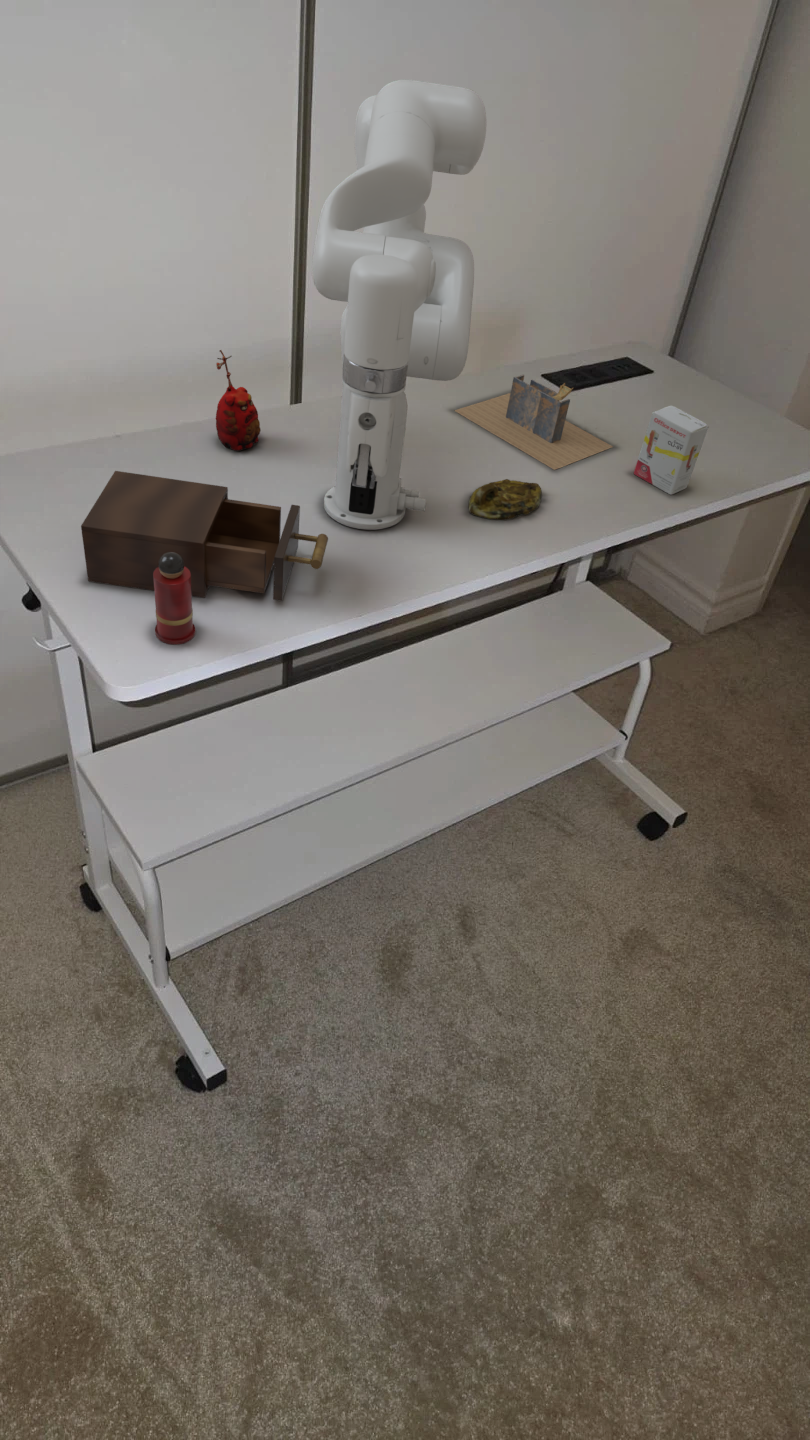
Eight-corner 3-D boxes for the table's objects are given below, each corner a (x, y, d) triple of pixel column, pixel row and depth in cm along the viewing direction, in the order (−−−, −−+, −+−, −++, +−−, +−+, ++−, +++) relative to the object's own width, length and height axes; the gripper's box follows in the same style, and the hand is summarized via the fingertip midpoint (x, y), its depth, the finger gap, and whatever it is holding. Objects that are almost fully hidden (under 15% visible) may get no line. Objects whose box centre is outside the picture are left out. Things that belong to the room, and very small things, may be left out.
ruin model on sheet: (613, 446, 174) (628, 395, 168) (554, 470, 165) (567, 416, 159) (513, 391, 186) (523, 341, 180) (453, 410, 177) (462, 358, 171)
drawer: (329, 551, 138) (332, 510, 133) (315, 606, 128) (318, 563, 123) (197, 532, 137) (195, 490, 133) (173, 585, 128) (171, 542, 123)
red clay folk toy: (246, 457, 156) (246, 367, 146) (207, 446, 157) (204, 356, 147) (266, 437, 162) (267, 350, 151) (228, 427, 163) (227, 339, 153)
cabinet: (228, 539, 138) (227, 486, 133) (204, 598, 128) (203, 543, 122) (120, 524, 138) (115, 470, 132) (88, 581, 128) (80, 525, 122)
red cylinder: (199, 623, 124) (196, 545, 116) (190, 647, 120) (186, 569, 112) (161, 617, 124) (155, 539, 116) (150, 641, 120) (143, 562, 112)
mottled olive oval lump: (515, 483, 162) (451, 507, 154) (518, 457, 159) (454, 479, 151) (557, 503, 157) (494, 528, 149) (561, 476, 154) (497, 500, 146)
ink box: (631, 473, 168) (651, 409, 159) (648, 466, 170) (669, 403, 162) (670, 496, 163) (692, 431, 155) (687, 488, 166) (710, 424, 158)
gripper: (401, 404, 107) (384, 545, 119) (411, 352, 118) (395, 486, 130) (334, 394, 107) (324, 536, 119) (351, 343, 118) (340, 478, 130)
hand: (361, 509), depth 125 cm, fingers closed
